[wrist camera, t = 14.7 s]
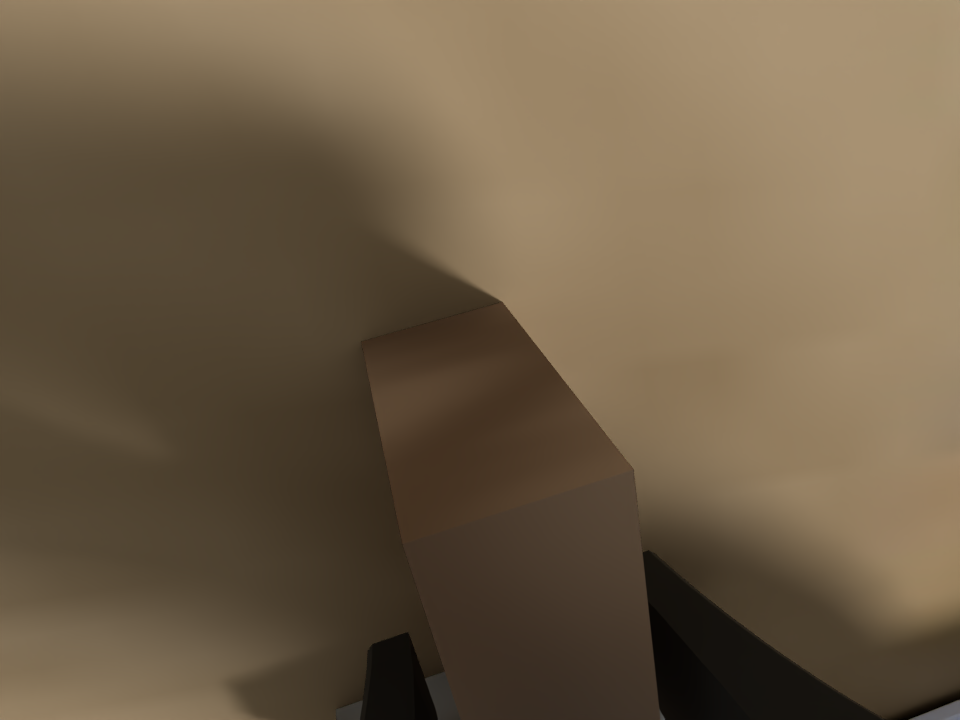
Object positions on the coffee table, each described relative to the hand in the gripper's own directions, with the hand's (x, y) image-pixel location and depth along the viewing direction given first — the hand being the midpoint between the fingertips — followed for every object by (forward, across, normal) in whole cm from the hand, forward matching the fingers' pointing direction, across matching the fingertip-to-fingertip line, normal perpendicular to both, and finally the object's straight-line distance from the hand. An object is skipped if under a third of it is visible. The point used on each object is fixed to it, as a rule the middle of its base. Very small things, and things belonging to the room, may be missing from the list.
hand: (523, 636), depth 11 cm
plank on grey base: (+2, 0, -1) cm, 3 cm away
